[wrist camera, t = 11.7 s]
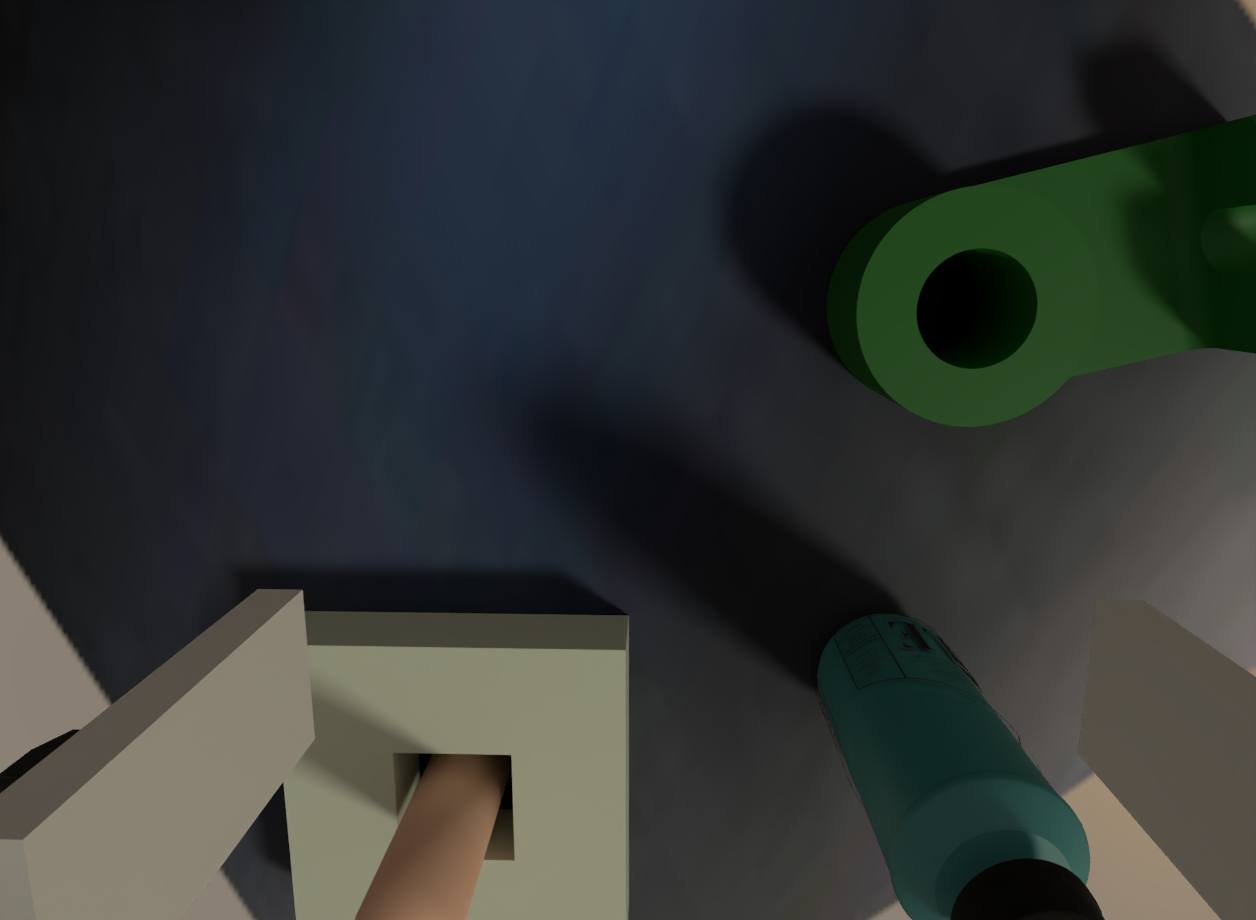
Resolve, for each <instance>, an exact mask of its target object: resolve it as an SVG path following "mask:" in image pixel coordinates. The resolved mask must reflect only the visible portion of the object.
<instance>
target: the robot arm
mask: <svg viewBox="0 0 1256 920" xmlns="http://www.w3.org/2000/svg"><path fill="white" fill-rule="evenodd" d="M314 739H315V732H314V720H313V708H312V696H311V684H310V672H309V660H308V648H307V636H306V624H305V612H304V600H303V590H286V589H257V590H256V591H255V592H254V593H252V594H251V595H250V596H249V597H247V598H246V599H245V600H244V601H242V602H241V603H240V604H239V605H237V606H236V607H235V608H233V609H232V610H231V611H230V612H228V613H227V614H226V615H225V616H223V617H222V618H221V619H220V620H218V621H217V622H216V623H215V624H213V625H212V626H211V627H210V628H208V629H207V630H206V631H204V632H203V633H202V634H201V635H199V636H198V637H197V638H196V639H194V640H193V641H192V642H191V643H189V644H188V645H187V646H186V647H184V648H183V649H182V650H181V651H179V652H178V653H177V654H175V655H174V656H173V657H172V658H170V659H169V660H168V661H167V662H165V663H164V664H163V665H162V666H160V667H159V668H158V669H157V670H155V671H154V672H153V673H152V674H150V675H149V676H148V677H146V678H145V679H144V680H143V681H141V682H140V683H139V684H138V685H136V686H135V687H134V688H133V689H131V690H130V691H129V692H128V693H126V694H125V695H124V696H123V697H121V698H120V699H119V700H117V701H116V702H115V703H114V704H112V705H111V706H110V707H109V708H107V709H106V710H105V711H104V712H102V713H101V714H100V715H99V716H97V717H96V718H95V719H94V720H92V721H91V722H90V723H88V724H87V725H86V726H85V727H83V728H82V729H81V730H71V731H69V732H67V733H65V734H63V735H61V736H59V737H57V738H55V739H53V740H51V741H49V742H47V743H44V744H42V745H40V746H39V747H36V748H34V749H32V750H30V751H29V752H28V753H26V754H25V755H24V756H23V757H21V758H20V759H19V760H17V761H16V762H15V763H13V764H12V765H11V766H9V767H8V768H7V769H6V770H4V771H3V772H2V773H0V920H182V918H183V917H184V916H185V914H186V913H187V912H188V910H189V909H190V908H191V906H192V904H194V902H195V901H196V899H197V898H198V897H199V895H200V894H201V893H202V891H203V890H204V889H205V887H206V886H207V885H208V883H209V882H210V880H211V879H212V878H213V876H214V875H215V874H216V872H217V871H218V870H219V868H220V867H221V866H222V864H223V863H224V862H225V860H226V859H227V857H228V856H229V855H230V853H231V852H232V851H233V849H234V848H235V847H236V845H237V844H238V843H239V841H240V840H241V838H242V837H243V836H244V834H245V833H246V832H247V830H248V829H249V828H250V826H251V825H252V824H253V822H254V821H255V819H256V818H257V817H258V815H259V814H260V813H261V811H262V810H263V809H264V807H265V806H266V805H267V803H268V802H269V800H270V799H271V798H272V796H273V795H274V794H275V792H276V791H277V790H278V788H279V787H280V786H281V784H282V783H283V781H284V780H285V779H286V777H287V776H288V775H289V773H290V772H291V771H292V769H293V768H294V767H295V765H296V764H297V762H298V761H299V760H300V758H301V757H302V756H303V754H304V753H305V752H306V750H307V749H308V748H309V746H310V745H311V743H312V742H313V741H314ZM1078 754H1079V755H1080V756H1081V757H1082V759H1083V760H1084V761H1085V762H1086V763H1087V764H1088V766H1089V767H1090V768H1091V769H1092V770H1093V771H1094V772H1095V774H1096V775H1097V776H1098V777H1099V778H1100V779H1101V781H1102V782H1103V783H1104V784H1105V785H1106V786H1107V788H1109V790H1110V791H1111V792H1112V793H1113V794H1114V796H1115V797H1116V798H1117V799H1118V800H1119V801H1120V803H1121V804H1122V805H1123V806H1124V807H1125V808H1126V809H1127V811H1128V812H1129V813H1130V814H1131V815H1132V816H1133V818H1134V819H1135V820H1136V821H1137V822H1138V824H1139V825H1140V826H1141V827H1142V828H1143V829H1144V830H1145V832H1146V833H1147V834H1148V835H1149V836H1150V837H1151V839H1152V840H1153V841H1154V842H1155V843H1156V844H1157V845H1158V847H1159V848H1160V849H1161V850H1162V851H1163V853H1164V854H1165V855H1166V856H1167V857H1168V858H1169V859H1170V861H1171V862H1172V863H1173V864H1174V865H1175V866H1176V868H1178V870H1179V871H1180V872H1181V873H1182V875H1183V876H1184V877H1185V878H1186V879H1187V880H1188V882H1189V883H1190V884H1191V885H1192V886H1193V887H1194V888H1195V890H1196V891H1197V892H1198V893H1199V894H1200V895H1201V897H1202V898H1203V899H1204V900H1205V901H1206V902H1207V903H1208V905H1209V906H1210V907H1211V908H1212V909H1213V911H1214V912H1215V913H1216V914H1217V915H1218V916H1219V917H1220V918H1221V920H1256V677H1255V676H1253V675H1252V674H1251V673H1249V672H1248V671H1246V670H1245V669H1243V668H1242V667H1240V666H1239V665H1237V664H1236V663H1234V662H1233V661H1232V660H1230V659H1229V658H1227V657H1226V656H1224V655H1223V654H1221V653H1220V652H1218V651H1217V650H1216V649H1214V648H1213V647H1211V646H1210V645H1208V644H1207V643H1205V642H1204V641H1202V640H1201V639H1199V638H1198V637H1197V636H1195V635H1194V634H1192V633H1191V632H1189V631H1188V630H1186V629H1185V628H1183V627H1182V626H1180V625H1179V624H1178V623H1176V622H1175V621H1173V620H1172V619H1170V618H1169V617H1167V616H1166V615H1164V614H1163V613H1162V612H1160V611H1159V610H1157V609H1156V608H1154V607H1153V606H1151V605H1150V604H1148V603H1147V602H1145V601H1138V600H1096V606H1095V614H1094V622H1093V631H1092V639H1091V648H1090V656H1089V664H1088V673H1087V681H1086V689H1085V698H1084V706H1083V714H1082V723H1081V731H1080V739H1079V748H1078Z"/></svg>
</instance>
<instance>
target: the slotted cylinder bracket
mask: <svg viewBox="0 0 1256 920" xmlns="http://www.w3.org/2000/svg"><path fill="white" fill-rule="evenodd" d="M951 256H952V257H955V258H956V259H958V260H959V261H961V262H962V263H963V264H964V265H965V266H966V267H967V268H968V269H969V270H970V272H971V273H972V275H973V276H974V279H975V281H976V284H977V287H978V291H979V307H978V312H977V316H976V318H975V321H974V323H973V325H972V327H971V328H970V330H969V331H968V332H967V334H966V335H965V336H964V337H963V338H962V339H961V340H960V341H959V342H957V343H956V344H955V345H953V346H951V347H950V348H948V349H946V350H943V351H940V352H937V353H932V352H931V351H930V350H929V348H928V347H927V346H926V344H925V343H924V341H923V339H922V337H921V335H920V332H919V329H918V324H917V302H918V298H919V295H920V291H921V289H922V287H923V285H924V283H925V281H926V279H927V278H928V277H929V275H930V274H931V273H932V271H933V270H934V269H935V268H936V267H937V266H938V265H939V264H941V263H942V262H943V261H944V260H946V259H947V258H949V257H951ZM827 322H828V328H829V332H830V336H831V339H832V342H833V345H834V347H835V349H836V351H837V353H838V355H839V357H840V359H841V360H842V362H843V363H844V365H845V366H846V367H847V369H848V370H849V371H850V372H851V373H852V374H853V375H854V376H855V377H856V378H857V379H858V380H859V381H860V382H861V383H863V384H864V385H865V386H867V387H868V388H870V389H872V390H873V391H875V392H877V393H878V394H880V395H882V396H884V397H886V398H887V399H889V400H891V401H893V402H894V403H896V404H898V405H900V406H902V407H903V408H905V409H907V410H909V411H910V412H912V413H914V414H916V415H918V416H920V417H923V418H925V419H927V420H930V421H933V422H937V423H940V424H945V425H950V426H961V427H977V426H985V425H991V424H996V423H1000V422H1004V421H1007V420H1009V419H1012V418H1015V417H1017V416H1020V415H1022V414H1024V413H1026V412H1028V411H1030V410H1031V409H1033V408H1035V407H1037V406H1038V405H1040V404H1041V403H1042V402H1044V401H1045V400H1047V399H1048V398H1049V397H1050V396H1051V395H1053V394H1054V393H1055V392H1056V391H1057V390H1058V389H1059V388H1060V387H1061V386H1062V385H1063V384H1064V383H1065V382H1066V381H1067V380H1068V378H1069V377H1073V376H1077V375H1082V374H1086V373H1091V372H1095V371H1099V370H1104V369H1108V368H1112V367H1117V366H1121V365H1125V364H1130V363H1134V362H1139V361H1143V360H1147V359H1152V358H1156V357H1160V356H1165V355H1169V354H1173V353H1178V352H1182V351H1187V350H1193V349H1201V348H1220V349H1227V350H1234V351H1242V352H1249V353H1256V115H1252V116H1248V117H1244V118H1240V119H1237V120H1233V121H1229V122H1225V123H1221V124H1218V125H1214V126H1210V127H1206V128H1202V129H1199V130H1195V131H1191V132H1187V133H1183V134H1179V135H1176V136H1172V137H1168V138H1164V139H1160V140H1156V141H1152V142H1148V143H1144V144H1140V145H1136V146H1132V147H1128V148H1124V149H1120V150H1116V151H1112V152H1108V153H1104V154H1100V155H1096V156H1092V157H1088V158H1084V159H1080V160H1076V161H1072V162H1068V163H1064V164H1060V165H1056V166H1052V167H1048V168H1044V169H1040V170H1036V171H1032V172H1028V173H1024V174H1020V175H1016V176H1012V177H1008V178H1004V179H1000V180H996V181H992V182H988V183H984V184H980V185H976V186H971V187H964V188H960V189H956V190H952V191H948V192H944V193H941V194H937V195H934V196H930V197H926V198H923V199H919V200H916V201H912V202H909V203H905V204H902V205H900V206H897V207H894V208H892V209H890V210H888V211H886V212H884V213H882V214H881V215H879V216H878V217H876V218H874V219H873V220H872V221H870V222H869V223H868V224H867V225H865V226H864V227H863V228H862V229H861V230H860V231H859V232H858V233H857V234H856V235H855V236H854V237H853V239H852V240H851V241H850V242H849V243H848V245H847V246H846V248H845V249H844V251H843V252H842V254H841V256H840V258H839V260H838V261H837V264H836V266H835V268H834V271H833V273H832V277H831V280H830V283H829V289H828V294H827Z"/></svg>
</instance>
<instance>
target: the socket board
mask: <svg viewBox="0 0 1256 920" xmlns="http://www.w3.org/2000/svg"><path fill="white" fill-rule="evenodd" d="M305 624H306V636H307V648H308V660H309V672H310V684H311V696H312V708H313V720H314V732H315V739H314V741H313V742H312V743H311V745H310V746H309V748H308V749H307V750H306V752H305V753H304V754H303V756H302V757H301V758H300V760H299V761H298V762H297V764H296V765H295V767H294V768H293V769H292V771H291V772H290V773H289V775H288V776H287V777H286V779H285V780H284V781H283V784H284V794H285V805H286V816H287V827H288V837H289V848H290V859H291V870H292V880H293V891H294V902H295V913H296V920H355V917H356V914H357V912H358V910H359V908H360V906H361V904H362V902H363V900H364V897H365V895H366V893H367V891H368V889H369V887H370V885H371V883H372V881H373V878H374V876H375V874H376V872H377V870H378V868H379V866H380V864H381V861H382V859H383V857H384V855H385V853H386V851H387V849H388V847H389V845H390V842H391V840H392V838H393V836H394V834H395V832H396V830H397V828H398V825H399V823H400V821H401V819H402V817H403V815H404V813H405V811H406V809H407V806H408V804H409V802H410V800H411V798H412V796H413V794H414V792H415V789H416V787H417V785H418V783H419V781H420V768H419V753H433V754H484V755H511V761H512V792H513V809H499V810H498V813H497V817H496V820H495V823H494V827H493V830H492V833H491V837H490V840H489V843H488V846H487V850H486V853H485V856H484V860H483V863H482V866H481V870H480V873H479V876H478V880H477V883H476V886H475V890H474V893H473V896H472V900H471V903H470V906H469V910H468V913H467V916H466V920H628V908H629V615H558V614H486V613H413V612H341V611H305Z"/></svg>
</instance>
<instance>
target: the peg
mask: <svg viewBox="0 0 1256 920" xmlns="http://www.w3.org/2000/svg"><path fill="white" fill-rule="evenodd" d="M510 770H511V755H484V754H433V753H432V756H431V758H430V760H429V762H428V764H427V766H426V768H425V770H424V773H423V775H422V777H421V779H420V781H419V783H418V785H417V787H416V789H415V792H414V794H413V796H412V798H411V800H410V802H409V804H408V806H407V809H406V811H405V813H404V815H403V817H402V819H401V821H400V823H399V825H398V828H397V830H396V832H395V834H394V836H393V838H392V840H391V842H390V845H389V847H388V849H387V851H386V853H385V855H384V857H383V859H382V861H381V864H380V866H379V868H378V870H377V872H376V874H375V876H374V878H373V881H372V883H371V885H370V887H369V889H368V891H367V893H366V895H365V897H364V900H363V902H362V904H361V906H360V908H359V910H358V912H357V914H356V917H355V920H466V916H467V913H468V910H469V906H470V903H471V900H472V896H473V893H474V890H475V886H476V883H477V880H478V876H479V873H480V870H481V866H482V863H483V860H484V856H485V853H486V850H487V846H488V843H489V840H490V837H491V833H492V830H493V827H494V823H495V820H496V817H497V813H498V810H499V807H500V803H501V800H502V797H503V793H504V790H505V787H506V783H507V780H508V777H509V773H510Z"/></svg>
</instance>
